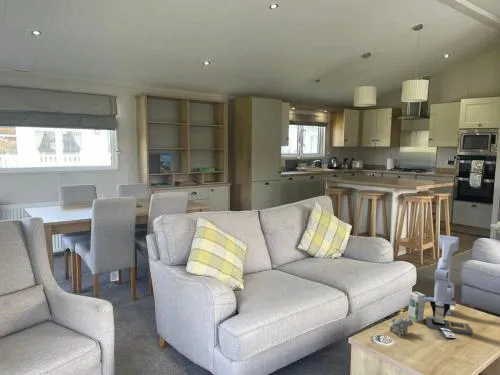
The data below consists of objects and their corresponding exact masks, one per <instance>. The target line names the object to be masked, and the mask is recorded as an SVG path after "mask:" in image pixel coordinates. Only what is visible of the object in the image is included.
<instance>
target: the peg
mask: <svg viewBox="0 0 500 375" xmlns="http://www.w3.org/2000/svg"><path fill="white" fill-rule="evenodd" d="M443 317H444V306H442V305H436V303H435V317H434V316H433V318H434V322H433V323H435V322H438V323H437V324H441V323H443V320H444V318H443Z"/></svg>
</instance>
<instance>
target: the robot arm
mask: <svg viewBox="0 0 500 375" xmlns="http://www.w3.org/2000/svg"><path fill="white" fill-rule="evenodd" d="M459 240H460V238H459V237H458V236H451V235H443V234H440V235H439V236H438V247H439V249H440V250H441V257H439V258H438V262H437V267H436V269H435V272H434V288H433V290H434V292H433V293H434V295H433V297H432V296H425V303H426V302H428V303H429V304H430V307H431V309H432V316H433V318H434V317H435V304H436V305H442V306H444V317H443V319H445V317H446V316H452V313H451V306H453V307H456V306H457V305H456V304H457V302H456V301H455V300H451V299H453V298H454V296H455V286H456V285H455V283H454V282H452V281H451V270H452V269H451V268H452V261H453V260H452V259H453V254H454V252H457V251H458V249H459V243H460V241H459Z"/></svg>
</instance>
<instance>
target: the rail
mask: <svg viewBox="0 0 500 375" xmlns="http://www.w3.org/2000/svg"><path fill="white" fill-rule="evenodd" d="M425 322H426V327H427V328H428V329H434V330H439V329H440V328H447V329H449V330H451V331H453V332H452V333H456V334H462V335H466V336H467V335H468V336H472V331H471V328H470V325H469V324H468V323H466V322H465V323H464V322H458V321H453V320H446V319H443V322H444V324H445V326H444V324H443V325H442V324H441V325H440V324H436V323H435V322H434V317H429V316H426V317H425Z"/></svg>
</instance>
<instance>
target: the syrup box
mask: <svg viewBox="0 0 500 375" xmlns="http://www.w3.org/2000/svg"><path fill="white" fill-rule="evenodd" d="M425 297H426V294H423V293H421V292H418V291H412V292H409V301H408V311H407V312H408V313H407V318H408V320H412V322H416V323H417V322H422V321H424V314H425V313H424V312H425V303H426V302H425Z"/></svg>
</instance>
